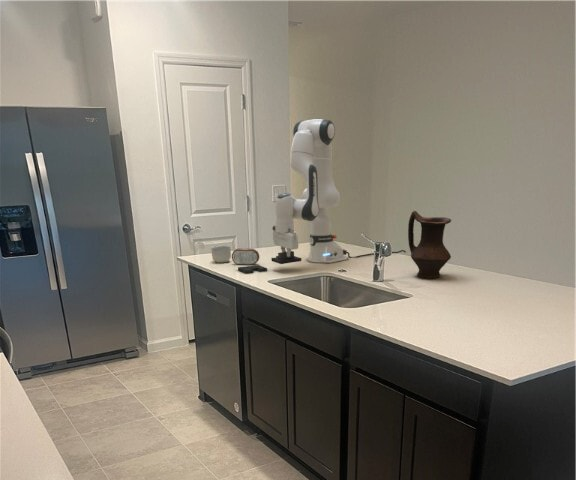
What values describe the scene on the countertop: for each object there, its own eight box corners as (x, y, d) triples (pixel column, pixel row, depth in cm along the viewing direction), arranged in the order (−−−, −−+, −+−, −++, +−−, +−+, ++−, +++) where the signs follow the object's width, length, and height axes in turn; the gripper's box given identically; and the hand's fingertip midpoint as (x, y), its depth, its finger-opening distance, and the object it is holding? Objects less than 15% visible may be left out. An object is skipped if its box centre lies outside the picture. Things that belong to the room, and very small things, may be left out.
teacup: (233, 262, 304) (232, 248, 301) (214, 264, 300) (213, 249, 297) (226, 258, 316) (225, 244, 313) (208, 260, 312) (207, 245, 309)
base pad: (258, 267, 290) (258, 264, 289) (267, 271, 282) (267, 268, 281) (237, 270, 285) (237, 267, 284) (246, 273, 277) (245, 270, 276)
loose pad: (288, 257, 289) (288, 248, 287) (301, 261, 278) (301, 252, 276) (268, 260, 283) (268, 251, 282) (280, 264, 273) (280, 255, 271)
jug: (453, 274, 266) (460, 210, 254) (442, 282, 252) (449, 214, 240) (411, 270, 276) (416, 208, 264) (399, 277, 262) (403, 212, 250)
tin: (259, 263, 299) (259, 248, 296) (258, 265, 296) (258, 249, 293) (232, 263, 301) (231, 248, 297) (231, 265, 298) (230, 249, 295)
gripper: (301, 229, 266) (301, 258, 271) (281, 225, 282) (282, 252, 288) (289, 231, 263) (290, 259, 269) (270, 226, 279) (271, 253, 285)
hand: (286, 255), depth 278 cm, fingers closed on loose pad, 2 cm apart
